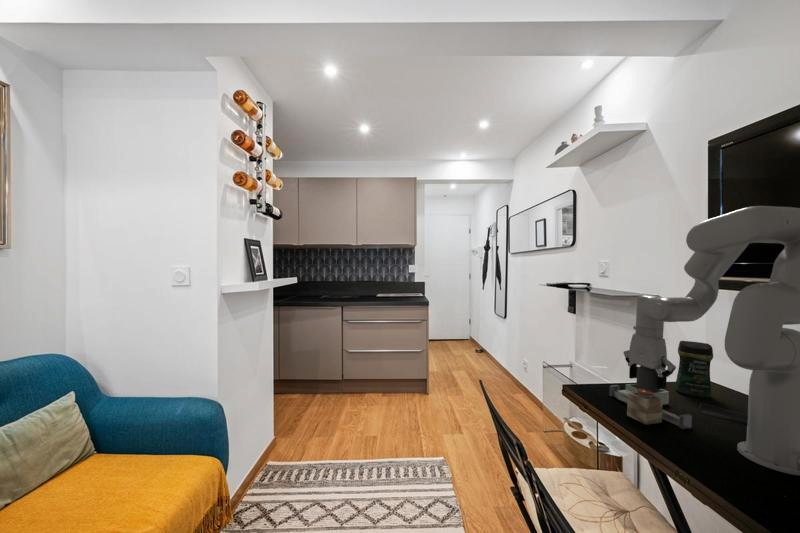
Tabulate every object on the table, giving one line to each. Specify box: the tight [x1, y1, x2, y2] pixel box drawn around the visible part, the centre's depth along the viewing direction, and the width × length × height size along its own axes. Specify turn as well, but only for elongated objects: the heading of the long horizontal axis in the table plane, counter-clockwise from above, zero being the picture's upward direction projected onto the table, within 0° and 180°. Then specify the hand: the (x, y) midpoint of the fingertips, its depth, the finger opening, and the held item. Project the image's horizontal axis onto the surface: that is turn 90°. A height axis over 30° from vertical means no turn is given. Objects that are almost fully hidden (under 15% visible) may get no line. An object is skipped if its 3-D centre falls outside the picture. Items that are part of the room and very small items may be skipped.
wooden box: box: [626, 391, 663, 425], centre depth 102 cm, size 6×6×7 cm
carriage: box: [617, 383, 670, 406], centre depth 115 cm, size 8×13×4 cm, turn 106°
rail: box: [608, 384, 693, 430], centre depth 108 cm, size 24×3×4 cm, turn 16°
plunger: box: [637, 388, 653, 399], centre depth 102 cm, size 4×4×5 cm
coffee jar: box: [674, 340, 714, 399], centre depth 122 cm, size 10×8×19 cm
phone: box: [697, 402, 748, 426], centre depth 105 cm, size 8×1×15 cm
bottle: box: [635, 365, 659, 393], centre depth 115 cm, size 6×6×15 cm
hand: (646, 383), depth 115 cm, fingers open, 9 cm apart
